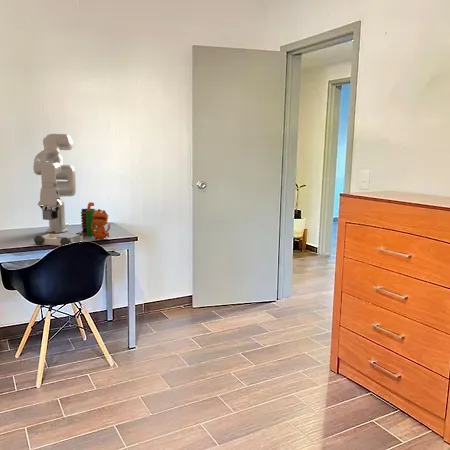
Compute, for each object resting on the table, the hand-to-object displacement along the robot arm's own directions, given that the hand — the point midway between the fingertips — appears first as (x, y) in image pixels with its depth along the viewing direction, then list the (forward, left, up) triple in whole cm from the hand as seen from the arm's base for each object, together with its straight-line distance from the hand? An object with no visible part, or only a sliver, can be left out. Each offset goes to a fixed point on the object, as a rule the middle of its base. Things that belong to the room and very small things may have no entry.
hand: (50, 217), depth 249 cm
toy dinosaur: (-17, +21, -14) cm, 31 cm away
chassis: (0, +5, -14) cm, 15 cm away
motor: (-25, +9, -14) cm, 30 cm away
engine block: (0, 0, -1) cm, 1 cm away
